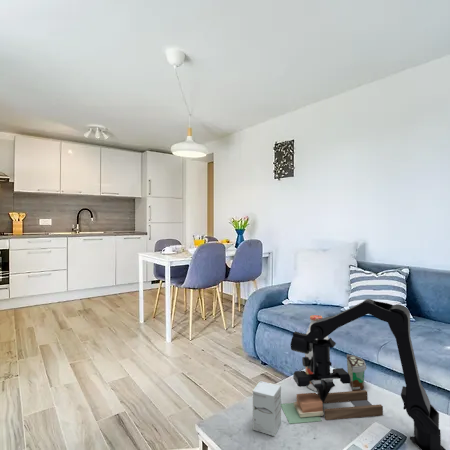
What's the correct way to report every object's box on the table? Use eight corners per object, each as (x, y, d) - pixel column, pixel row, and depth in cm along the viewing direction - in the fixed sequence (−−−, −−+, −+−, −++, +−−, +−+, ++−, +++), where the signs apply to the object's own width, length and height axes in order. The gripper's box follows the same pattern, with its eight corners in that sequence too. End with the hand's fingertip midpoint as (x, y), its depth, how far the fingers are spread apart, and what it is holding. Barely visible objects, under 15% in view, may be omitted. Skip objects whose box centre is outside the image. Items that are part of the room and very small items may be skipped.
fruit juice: (326, 380, 126) (325, 313, 127) (332, 392, 117) (331, 319, 117) (303, 379, 127) (302, 312, 128) (308, 391, 118) (306, 319, 118)
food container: (370, 394, 115) (369, 368, 115) (353, 393, 116) (352, 367, 116) (362, 378, 127) (362, 354, 127) (347, 377, 128) (346, 353, 129)
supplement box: (252, 430, 96) (251, 390, 96) (260, 417, 103) (260, 379, 103) (274, 437, 93) (273, 396, 93) (282, 423, 99) (281, 384, 99)
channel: (383, 415, 102) (382, 406, 102) (326, 420, 100) (325, 411, 101) (365, 398, 113) (365, 390, 113) (313, 402, 111) (313, 394, 111)
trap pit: (379, 412, 104) (379, 412, 104) (361, 414, 103) (361, 413, 103) (367, 400, 111) (367, 400, 111) (350, 401, 111) (350, 401, 111)
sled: (323, 415, 102) (323, 403, 102) (300, 417, 101) (300, 404, 101) (315, 403, 109) (315, 391, 109) (293, 405, 108) (293, 393, 108)
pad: (322, 421, 100) (322, 420, 100) (289, 423, 99) (289, 423, 99) (309, 402, 111) (309, 401, 111) (280, 404, 110) (280, 403, 110)
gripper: (336, 346, 115) (337, 387, 115) (288, 349, 113) (289, 391, 113) (351, 358, 104) (352, 404, 104) (298, 362, 102) (299, 408, 102)
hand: (322, 401), depth 106 cm, fingers closed
